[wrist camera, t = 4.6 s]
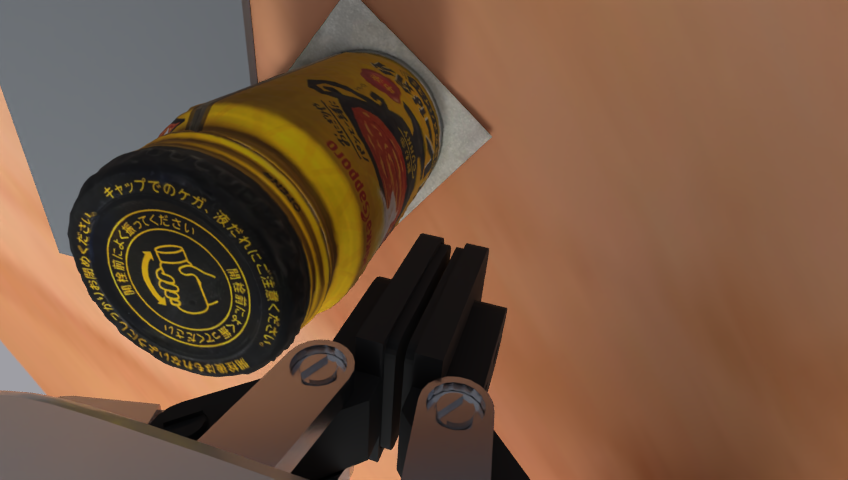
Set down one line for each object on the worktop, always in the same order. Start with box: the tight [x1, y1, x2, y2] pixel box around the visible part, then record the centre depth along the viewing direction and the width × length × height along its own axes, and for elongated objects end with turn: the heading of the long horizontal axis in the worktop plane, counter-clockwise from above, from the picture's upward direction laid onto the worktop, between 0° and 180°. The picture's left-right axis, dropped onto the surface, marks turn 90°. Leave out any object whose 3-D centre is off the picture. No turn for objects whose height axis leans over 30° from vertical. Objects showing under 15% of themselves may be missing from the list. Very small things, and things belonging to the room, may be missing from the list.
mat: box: [0, 0, 258, 256], centre depth 24 cm, size 20×14×1 cm
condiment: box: [67, 0, 492, 377], centre depth 16 cm, size 7×8×12 cm
